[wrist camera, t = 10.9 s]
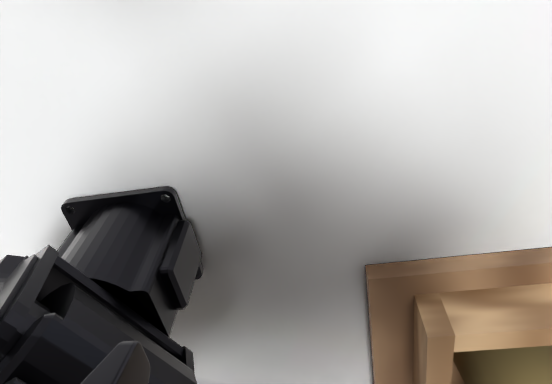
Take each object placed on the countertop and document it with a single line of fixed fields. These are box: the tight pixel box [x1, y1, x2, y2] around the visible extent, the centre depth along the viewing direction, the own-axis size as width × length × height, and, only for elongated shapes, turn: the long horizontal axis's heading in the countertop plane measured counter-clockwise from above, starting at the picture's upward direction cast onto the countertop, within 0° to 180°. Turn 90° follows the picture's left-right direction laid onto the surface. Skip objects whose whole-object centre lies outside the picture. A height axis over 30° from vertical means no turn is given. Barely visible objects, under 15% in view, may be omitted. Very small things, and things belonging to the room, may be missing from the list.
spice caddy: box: [365, 247, 552, 384], centre depth 26 cm, size 16×14×4 cm
